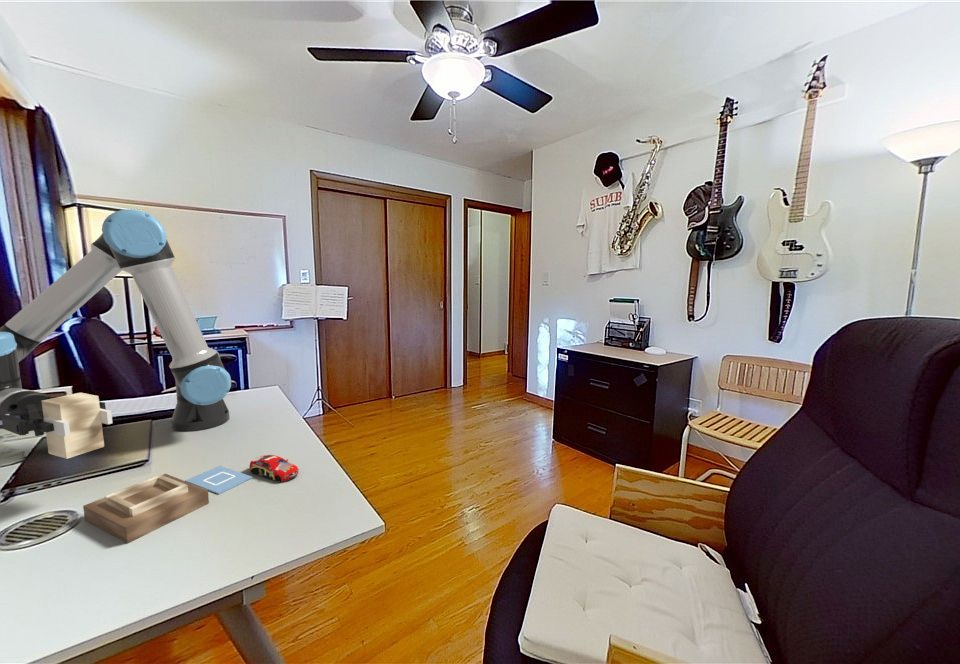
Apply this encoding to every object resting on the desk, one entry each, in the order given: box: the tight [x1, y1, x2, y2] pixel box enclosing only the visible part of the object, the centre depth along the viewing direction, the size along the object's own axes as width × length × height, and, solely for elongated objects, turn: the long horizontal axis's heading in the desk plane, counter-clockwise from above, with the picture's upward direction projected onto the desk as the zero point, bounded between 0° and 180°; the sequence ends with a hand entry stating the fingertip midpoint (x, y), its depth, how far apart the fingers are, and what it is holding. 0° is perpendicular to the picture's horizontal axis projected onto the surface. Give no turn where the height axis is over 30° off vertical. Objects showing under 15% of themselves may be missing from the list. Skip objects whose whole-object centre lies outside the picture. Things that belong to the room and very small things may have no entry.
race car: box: [249, 454, 300, 483], centre depth 96 cm, size 13×5×4 cm, turn 65°
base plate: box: [82, 473, 210, 544], centre depth 79 cm, size 14×15×4 cm
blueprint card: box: [184, 465, 254, 495], centre depth 92 cm, size 8×12×1 cm, turn 66°
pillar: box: [42, 392, 105, 459], centre depth 80 cm, size 6×6×11 cm
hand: (89, 423), depth 78 cm, fingers closed on pillar, 6 cm apart
